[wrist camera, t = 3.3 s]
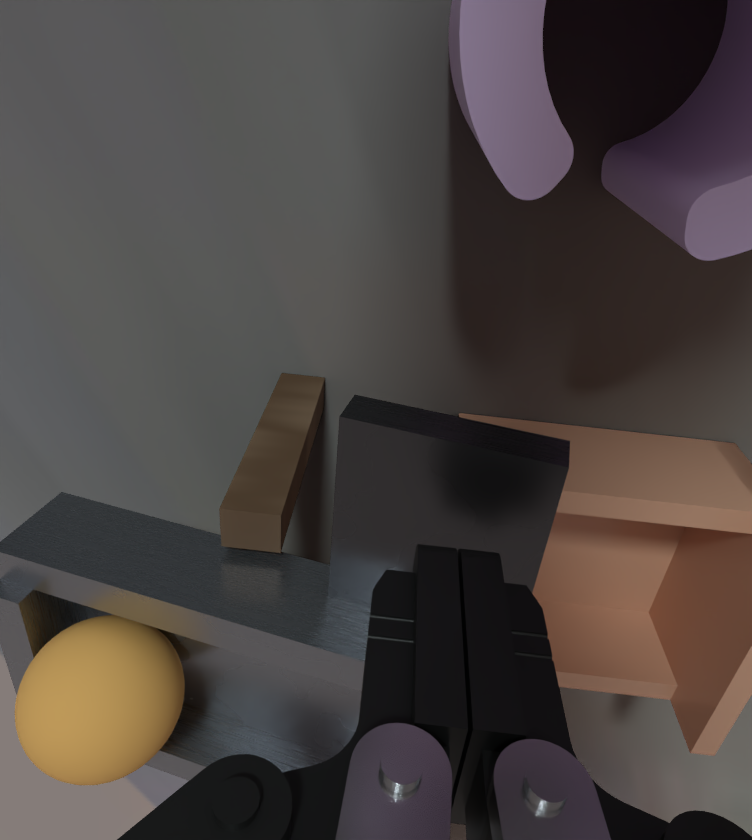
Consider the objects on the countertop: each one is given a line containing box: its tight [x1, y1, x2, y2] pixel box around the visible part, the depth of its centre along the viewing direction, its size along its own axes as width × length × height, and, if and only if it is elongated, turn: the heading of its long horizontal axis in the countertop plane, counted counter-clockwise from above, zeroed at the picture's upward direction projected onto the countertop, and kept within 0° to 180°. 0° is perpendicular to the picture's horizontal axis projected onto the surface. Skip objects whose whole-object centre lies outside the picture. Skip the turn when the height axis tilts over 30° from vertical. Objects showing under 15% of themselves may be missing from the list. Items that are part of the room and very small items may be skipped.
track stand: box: [219, 373, 325, 553], centre depth 21 cm, size 2×10×8 cm, turn 175°
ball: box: [15, 615, 185, 785], centre depth 16 cm, size 4×4×4 cm
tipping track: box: [0, 395, 570, 781], centre depth 16 cm, size 13×12×3 cm
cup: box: [458, 413, 752, 756], centre depth 21 cm, size 10×9×6 cm
